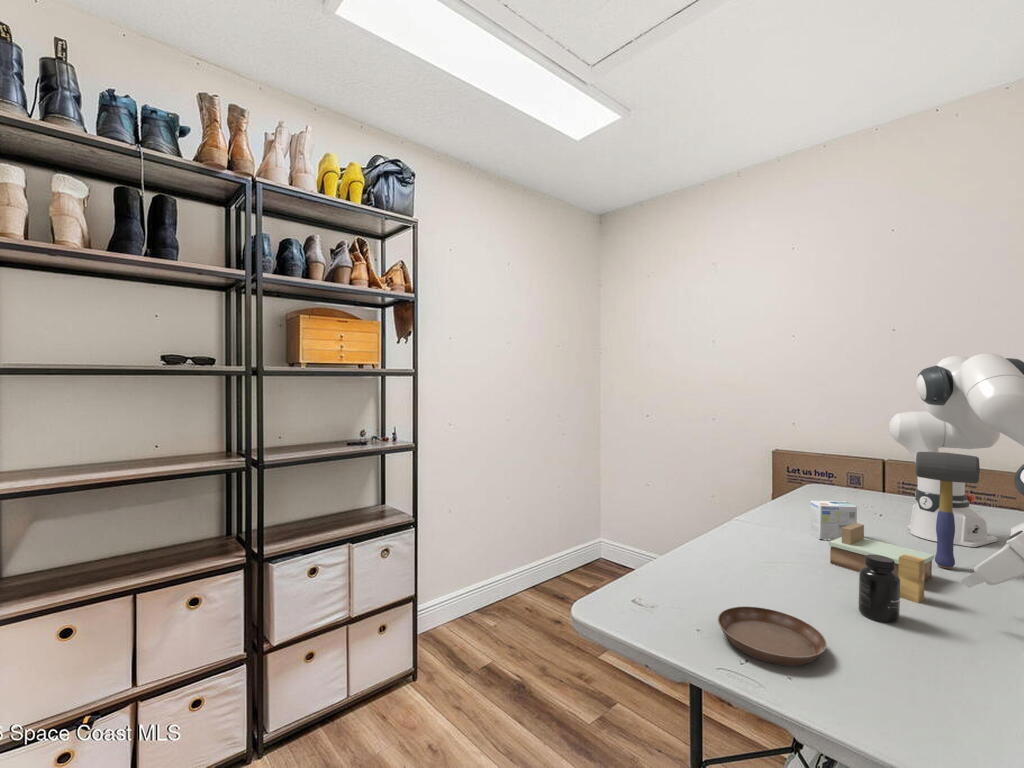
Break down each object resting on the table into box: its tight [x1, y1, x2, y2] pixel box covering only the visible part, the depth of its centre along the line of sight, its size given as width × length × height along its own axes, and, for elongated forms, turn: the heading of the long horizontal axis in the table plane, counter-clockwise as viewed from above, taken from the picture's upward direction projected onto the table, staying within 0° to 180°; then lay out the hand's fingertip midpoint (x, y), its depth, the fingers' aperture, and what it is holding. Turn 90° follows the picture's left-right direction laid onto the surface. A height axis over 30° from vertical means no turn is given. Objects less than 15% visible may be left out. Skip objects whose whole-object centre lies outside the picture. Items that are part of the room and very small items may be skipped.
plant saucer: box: [717, 606, 828, 667], centre depth 90 cm, size 18×18×3 cm
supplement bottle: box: [858, 554, 901, 624], centre depth 101 cm, size 7×7×12 cm
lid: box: [828, 522, 935, 564], centre depth 124 cm, size 12×19×5 cm, turn 33°
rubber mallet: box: [915, 451, 981, 570], centre depth 127 cm, size 12×8×30 cm, turn 47°
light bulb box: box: [809, 500, 858, 541], centre depth 150 cm, size 11×7×11 cm, turn 84°
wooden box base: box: [829, 546, 933, 583], centre depth 124 cm, size 11×18×4 cm, turn 33°
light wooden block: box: [898, 554, 925, 604], centre depth 109 cm, size 4×4×9 cm
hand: (972, 578), depth 100 cm, fingers open, 8 cm apart
